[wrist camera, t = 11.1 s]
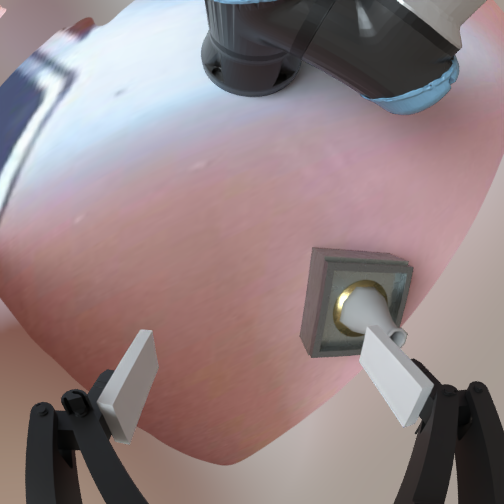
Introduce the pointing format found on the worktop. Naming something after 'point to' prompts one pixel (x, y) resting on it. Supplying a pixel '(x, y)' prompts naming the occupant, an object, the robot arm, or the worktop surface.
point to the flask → (370, 314)
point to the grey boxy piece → (339, 288)
